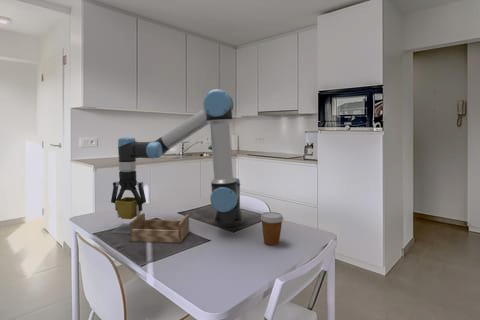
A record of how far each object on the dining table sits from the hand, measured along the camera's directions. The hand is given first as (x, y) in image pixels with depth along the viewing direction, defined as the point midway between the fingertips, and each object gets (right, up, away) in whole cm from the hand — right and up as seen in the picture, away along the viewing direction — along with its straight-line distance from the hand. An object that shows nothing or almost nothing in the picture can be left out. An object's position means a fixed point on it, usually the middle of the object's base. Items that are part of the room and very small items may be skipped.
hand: (129, 217), depth 139 cm
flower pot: (0, 0, 0) cm, 0 cm away
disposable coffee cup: (+66, -8, -16) cm, 68 cm away
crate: (+18, -7, -9) cm, 21 cm away
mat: (0, -6, +1) cm, 6 cm away
